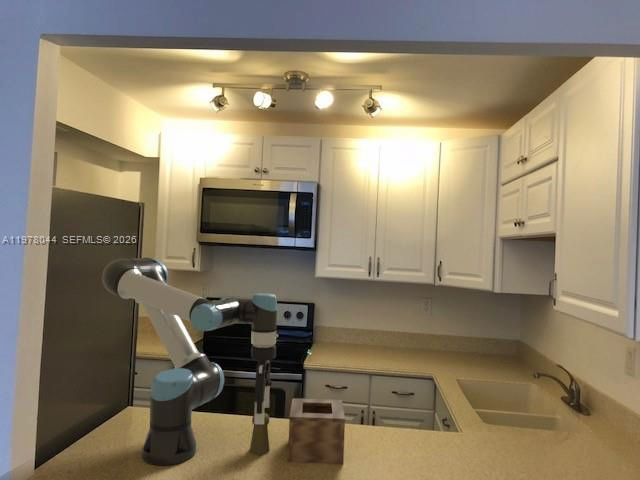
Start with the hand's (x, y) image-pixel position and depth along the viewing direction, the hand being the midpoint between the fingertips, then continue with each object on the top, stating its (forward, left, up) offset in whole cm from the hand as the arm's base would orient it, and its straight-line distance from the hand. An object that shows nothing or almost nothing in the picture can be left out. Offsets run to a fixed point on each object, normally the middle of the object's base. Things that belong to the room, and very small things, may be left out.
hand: (262, 415), depth 137 cm
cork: (0, 0, -11) cm, 11 cm away
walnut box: (+17, +1, -11) cm, 20 cm away
